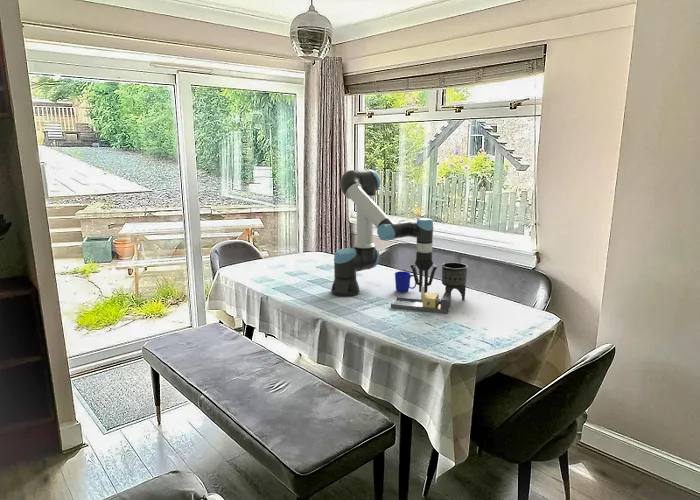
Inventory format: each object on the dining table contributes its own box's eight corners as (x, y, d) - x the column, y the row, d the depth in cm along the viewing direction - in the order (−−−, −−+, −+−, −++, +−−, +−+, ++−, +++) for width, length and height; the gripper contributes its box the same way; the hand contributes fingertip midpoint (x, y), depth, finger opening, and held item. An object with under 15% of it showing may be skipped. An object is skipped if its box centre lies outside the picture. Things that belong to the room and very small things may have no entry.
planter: (467, 296, 247) (468, 263, 243) (464, 304, 235) (466, 269, 231) (442, 294, 251) (443, 261, 247) (438, 301, 239) (439, 267, 235)
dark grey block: (440, 311, 222) (440, 299, 220) (444, 303, 233) (444, 292, 231) (446, 312, 221) (447, 300, 219) (450, 304, 232) (451, 292, 230)
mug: (416, 294, 251) (417, 275, 249) (393, 292, 254) (394, 274, 252) (417, 289, 259) (418, 271, 257) (395, 288, 262) (395, 270, 259)
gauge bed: (390, 308, 230) (390, 303, 230) (397, 300, 241) (397, 296, 241) (446, 314, 221) (446, 310, 221) (450, 306, 232) (450, 302, 232)
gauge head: (421, 309, 223) (421, 299, 222) (426, 301, 235) (426, 292, 233) (436, 311, 221) (436, 301, 220) (440, 303, 232) (441, 293, 231)
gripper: (409, 251, 223) (408, 299, 228) (436, 253, 219) (435, 302, 224) (412, 248, 230) (411, 295, 235) (439, 250, 226) (437, 297, 231)
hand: (423, 298), depth 230 cm, fingers closed
